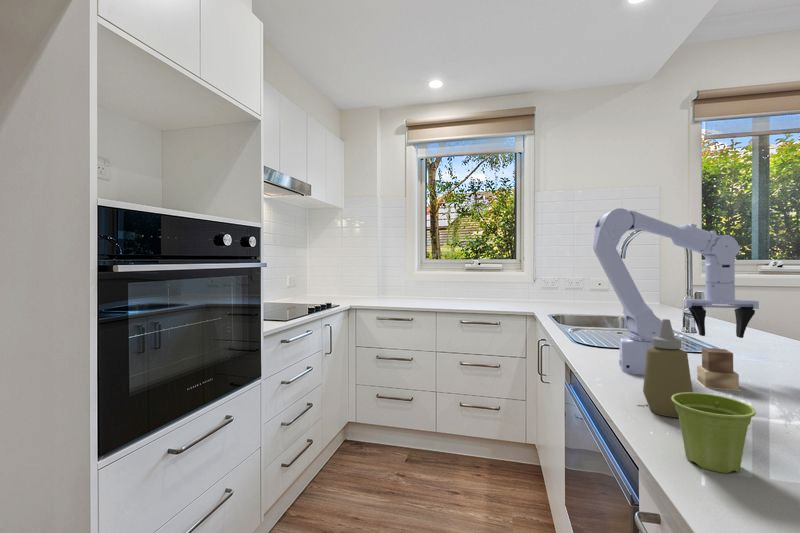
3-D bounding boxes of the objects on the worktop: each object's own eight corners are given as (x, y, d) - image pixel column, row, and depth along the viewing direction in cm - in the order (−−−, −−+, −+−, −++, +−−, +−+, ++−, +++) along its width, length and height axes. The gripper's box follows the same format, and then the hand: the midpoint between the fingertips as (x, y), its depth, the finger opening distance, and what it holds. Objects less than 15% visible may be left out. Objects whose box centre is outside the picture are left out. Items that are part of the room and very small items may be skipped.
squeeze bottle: (688, 408, 76) (686, 317, 76) (699, 423, 69) (697, 323, 69) (640, 402, 79) (638, 316, 79) (646, 416, 72) (644, 321, 72)
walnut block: (708, 371, 87) (708, 351, 87) (702, 366, 91) (701, 347, 91) (733, 373, 85) (733, 353, 85) (725, 368, 89) (725, 349, 89)
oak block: (705, 387, 87) (705, 371, 87) (697, 379, 92) (697, 365, 92) (738, 390, 84) (738, 374, 84) (728, 382, 90) (728, 367, 90)
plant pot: (765, 488, 49) (764, 420, 49) (674, 468, 54) (673, 407, 54) (747, 457, 57) (746, 398, 57) (669, 442, 62) (669, 388, 62)
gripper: (689, 283, 96) (690, 337, 96) (764, 283, 90) (765, 341, 90) (682, 282, 103) (682, 332, 103) (751, 282, 97) (752, 335, 97)
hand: (720, 336), depth 97 cm, fingers open, 7 cm apart
